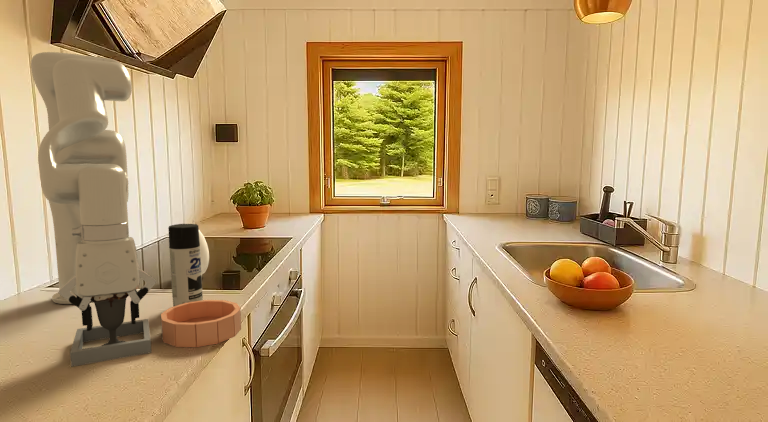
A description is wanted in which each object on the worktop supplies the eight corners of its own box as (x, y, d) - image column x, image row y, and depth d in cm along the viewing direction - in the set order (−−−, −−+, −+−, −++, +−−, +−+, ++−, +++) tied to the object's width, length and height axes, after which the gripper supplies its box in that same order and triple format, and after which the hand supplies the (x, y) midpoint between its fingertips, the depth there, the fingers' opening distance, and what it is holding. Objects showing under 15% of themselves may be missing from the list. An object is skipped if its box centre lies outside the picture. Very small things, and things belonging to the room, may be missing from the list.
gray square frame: (78, 341, 93) (77, 329, 92) (148, 330, 99) (148, 318, 98) (71, 366, 82) (70, 352, 81) (151, 352, 88) (150, 339, 87)
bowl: (160, 326, 101) (159, 306, 100) (232, 315, 108) (232, 296, 107) (165, 352, 88) (163, 329, 87) (246, 338, 95) (246, 316, 94)
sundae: (92, 356, 86) (86, 276, 84) (94, 343, 92) (89, 268, 90) (133, 350, 89) (128, 272, 87) (133, 337, 95) (128, 264, 93)
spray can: (192, 313, 109) (188, 228, 106) (166, 311, 110) (161, 226, 108) (208, 304, 115) (205, 223, 113) (183, 302, 117) (179, 222, 114)
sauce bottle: (184, 274, 143) (181, 216, 140) (211, 273, 144) (209, 215, 142) (179, 281, 135) (176, 219, 133) (208, 280, 137) (205, 219, 135)
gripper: (45, 239, 80) (54, 340, 82) (158, 232, 88) (163, 324, 90) (52, 233, 87) (59, 326, 89) (156, 226, 95) (161, 312, 97)
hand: (112, 324), depth 90 cm, fingers open, 6 cm apart
